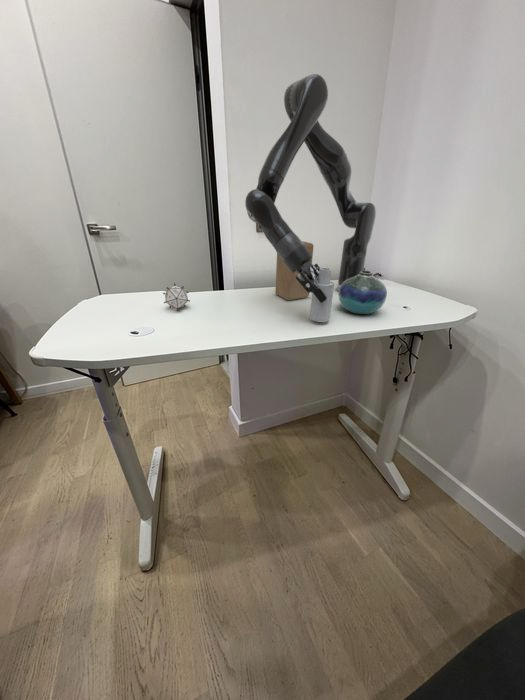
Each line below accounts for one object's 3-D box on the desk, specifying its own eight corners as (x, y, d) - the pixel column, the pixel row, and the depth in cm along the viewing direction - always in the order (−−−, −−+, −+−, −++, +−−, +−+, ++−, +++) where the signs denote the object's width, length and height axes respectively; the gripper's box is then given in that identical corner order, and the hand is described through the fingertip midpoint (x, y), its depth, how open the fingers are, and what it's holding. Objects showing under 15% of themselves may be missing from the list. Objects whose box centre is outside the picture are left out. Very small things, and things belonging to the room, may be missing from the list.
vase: (365, 302, 108) (372, 266, 102) (392, 317, 95) (402, 276, 89) (328, 305, 104) (333, 267, 98) (351, 321, 91) (358, 278, 85)
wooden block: (287, 301, 108) (291, 244, 98) (274, 294, 115) (276, 241, 106) (309, 298, 112) (314, 243, 102) (295, 291, 120) (299, 239, 110)
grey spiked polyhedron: (185, 318, 100) (199, 297, 96) (162, 316, 94) (177, 293, 89) (175, 300, 104) (189, 279, 99) (153, 296, 97) (167, 274, 93)
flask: (320, 313, 93) (325, 265, 86) (333, 319, 89) (340, 269, 81) (305, 316, 90) (310, 267, 83) (318, 323, 86) (324, 272, 79)
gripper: (292, 246, 77) (331, 296, 78) (310, 240, 88) (343, 284, 89) (273, 264, 81) (310, 312, 82) (293, 257, 93) (324, 298, 93)
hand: (327, 297), depth 85 cm, fingers closed on flask, 6 cm apart
